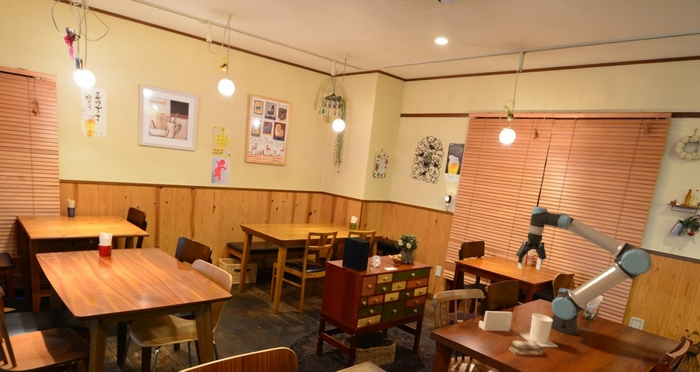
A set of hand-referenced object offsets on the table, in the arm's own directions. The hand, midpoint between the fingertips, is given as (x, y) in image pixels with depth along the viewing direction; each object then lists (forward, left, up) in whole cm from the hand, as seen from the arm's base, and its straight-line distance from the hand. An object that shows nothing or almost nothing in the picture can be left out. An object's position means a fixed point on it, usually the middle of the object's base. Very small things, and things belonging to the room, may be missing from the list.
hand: (529, 269), depth 214 cm
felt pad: (+9, +23, -31) cm, 40 cm away
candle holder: (+8, +23, -31) cm, 39 cm away
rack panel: (+26, +11, -31) cm, 42 cm away
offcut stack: (+26, +34, -31) cm, 53 cm away
